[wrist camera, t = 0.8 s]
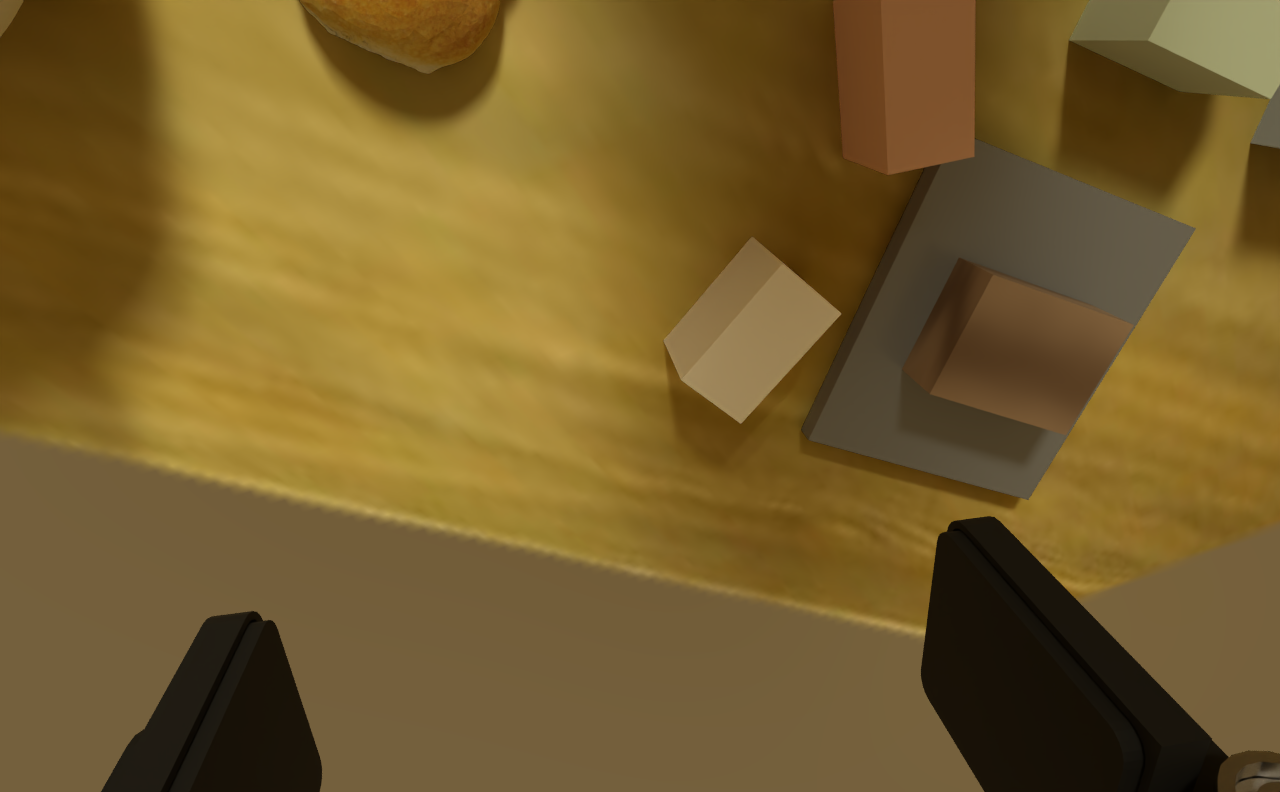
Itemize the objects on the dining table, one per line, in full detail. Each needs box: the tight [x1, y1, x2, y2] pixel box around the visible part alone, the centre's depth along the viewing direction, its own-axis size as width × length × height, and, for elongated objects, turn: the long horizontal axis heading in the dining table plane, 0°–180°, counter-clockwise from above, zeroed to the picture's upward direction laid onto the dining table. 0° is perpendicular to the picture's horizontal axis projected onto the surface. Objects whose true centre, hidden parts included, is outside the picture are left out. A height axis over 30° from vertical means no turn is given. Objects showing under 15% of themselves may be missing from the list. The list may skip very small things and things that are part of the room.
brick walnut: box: [902, 258, 1134, 435], centre depth 38 cm, size 6×8×3 cm
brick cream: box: [663, 237, 841, 424], centre depth 36 cm, size 6×4×5 cm, turn 141°
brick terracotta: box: [833, 0, 976, 175], centre depth 32 cm, size 6×4×5 cm, turn 11°
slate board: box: [801, 139, 1196, 500], centre depth 39 cm, size 16×14×1 cm
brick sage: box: [1069, 0, 1280, 99], centre depth 33 cm, size 6×4×5 cm, turn 71°
